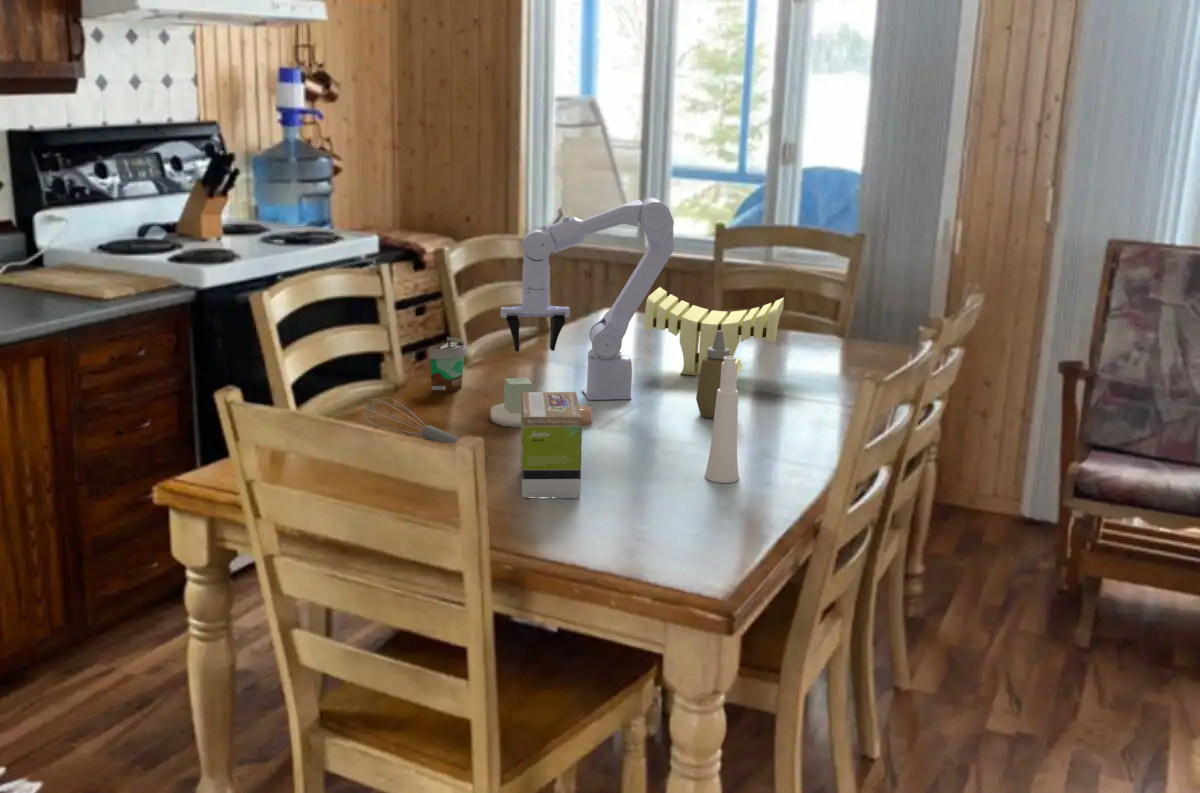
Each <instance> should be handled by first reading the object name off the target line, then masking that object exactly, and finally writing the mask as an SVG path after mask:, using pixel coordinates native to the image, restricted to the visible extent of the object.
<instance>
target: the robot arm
mask: <svg viewBox="0 0 1200 793" xmlns="http://www.w3.org/2000/svg"><path fill="white" fill-rule="evenodd" d="M639 223H640V225H641V227H643V229H644V232H645V235H646V240H647V243H648V248H647V249H646V251H645V252H644V253H643V255H642V258H641V259H640V260H639V261H638V264H637V266H636V267H635V269H634V270H633V272H632V273H631V275H630V277H629V278H628V280H627V282H626V283H625V285H624V287H623V288H622V289H621V291H620V293H619V295H618V296H617V298H616V300H615V301H614V303H613V304H612V306H611V308H610V309H609V310H608V311H606V312H605V313H604V315H603V316H602V318H601V319H600V320H599V321H597V322H596V323H594V324H593V325H592V327H591V328H590V330H589V334H588V337H589V341H590V343H591V349H590V350H589V351H588V352H587V374H586V376H587V377H586V387H584V388H583V387H582V389H581V391H582V392H583V393H584V395H585V396H586V398H587V399H588V400H589V401H598V400H599V401H601V400H603V401H604V400H605V401H606V400H632V398H633V396H632V381H633V380H632V378H633V365H632V359H631V356H630V355H625V354H624V355H623V354H622V352H621V349H622V347H623V346H622V344H623V339H624V336H625V335H626V333H627V331H628V328H629V323H630V322H631V320H632V319H633V317H634V315H635V313H636V312H637V311H638V309H639V307H640V305H641V304H642V302H644V299H645V297H646V296H647V294H648V293H649V292H650V290H651V288H652V286H653V285H654V283H655V281H656V280H657V279H658V277H659V275H660V274H661V272H662V270H663V269H664V267H665V265H666V263H667V262H668V261H669V259H670V257H671V256H672V255H673V251H674V247H675V246H674V227H675V222H674V219H673V215H672V213H671V210H670V209H669V208H668V206H667V205H666V204H665V203H664V202H663V201H662V200H661V199H659V198H657V197H655V196H647V197H644V198H643V199H636V200H632V201H629V202H626V203H622V204H621V205H618V206H615V207H612V208H610V209H608V210H605V211H603V212H600V213H597V214H595V215H592V216H589V217H587V218H585V219H580V218H578V217H576V216H573V217H570V216H569V215H566V216H563V217H562V220H561V221H558V222H555V223H553V224H549V225H546V224H543V225H540V227H541V229H535V228H534V229H531V230H529V231H528V232H527V233H526V234H525V235H524V237H523V240H522V248H523V251H524V254H523V259H522V260H523V265H522V280H521V281H522V288H521V289H522V290H521V291H522V295H521V296H522V297H521V298H522V299H521V300H522V302H521V305H515V306H501V307H500V317H501V318H502V319H505V321H506V322H507V325H508V327H509V331H510V333H511V336H512V341H513V347H514V351H515V352H520V326H521V323H520V320H519V318H533V317H534V318H546V317H547V318H549V320H550V321H549V322H550V337H549V349H550V351H553V352H554V351H555V350H556V344H557V340H558V338H559V335H560V333H561V331H562V329H563V327H564V326H565V323H566V318H570V316H571V308H570V307H569V306H557V305H556V306H555V305H550V277H551V274H550V273H551V272H550V270H551V267H550V264H549V263H550V255H551V253H558V252H561V251H564V250H567V249H569V248H572V247H574V246H578V245H581V244H583V243H585V241H586V238H587V236H588V235H591V234H594V233H597V232H600V231H604V230H607V229H610V228H613V227H614V228H615V227H617V226H620V225H628V226H633V227H635V228H637V227H639Z"/></svg>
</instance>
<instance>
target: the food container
mask: <svg viewBox="0 0 1200 793" xmlns="http://www.w3.org/2000/svg"><path fill="white" fill-rule="evenodd" d="M467 354H468V350H467V346H466V343H465V341H463V340H462V339H459V338H455V337H449V336H447V337H446V341H445V343H443V344H439V345H438V346H437V347H436V348H430V349H429V357H428V358H429V360H430V379H431V380H430V381H431V382H430V384H431V394H450V392H452V393H455V392H456V393H457V392H459V391H460V389H461V390H462V385H463V377H464V376H463V375H464V374H463V373H464V364H465V363H464V360H465V356H466V355H467ZM458 390H459V391H458Z"/></svg>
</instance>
